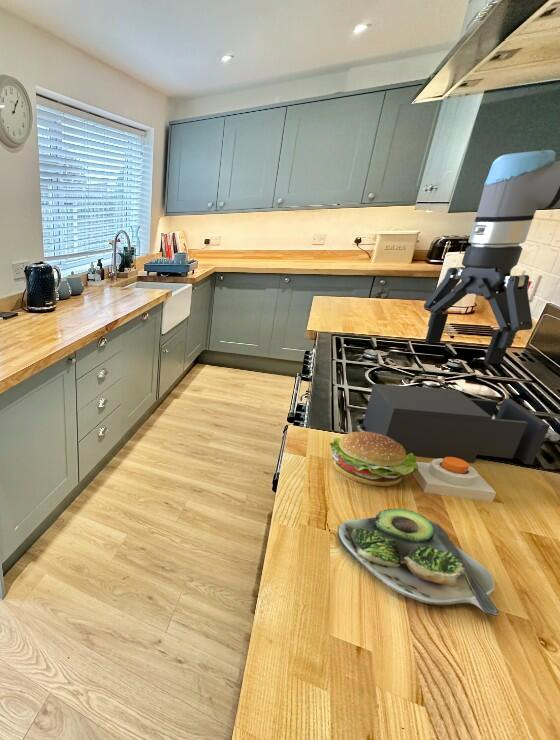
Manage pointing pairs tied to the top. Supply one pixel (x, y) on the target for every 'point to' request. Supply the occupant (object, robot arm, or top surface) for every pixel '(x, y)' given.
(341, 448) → the food
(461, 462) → the button
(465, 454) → the dark grey box
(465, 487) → the block
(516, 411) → the fryer drawer
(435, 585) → the salad plate
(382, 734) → the top surface
